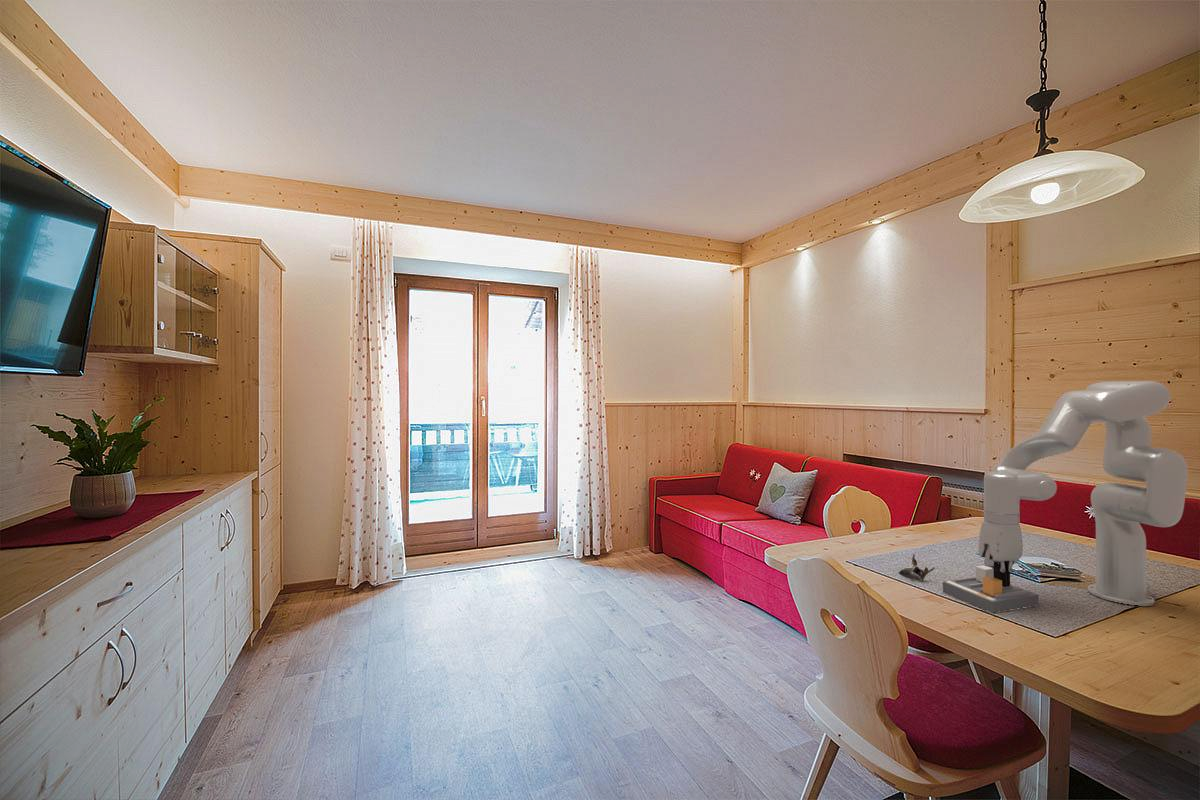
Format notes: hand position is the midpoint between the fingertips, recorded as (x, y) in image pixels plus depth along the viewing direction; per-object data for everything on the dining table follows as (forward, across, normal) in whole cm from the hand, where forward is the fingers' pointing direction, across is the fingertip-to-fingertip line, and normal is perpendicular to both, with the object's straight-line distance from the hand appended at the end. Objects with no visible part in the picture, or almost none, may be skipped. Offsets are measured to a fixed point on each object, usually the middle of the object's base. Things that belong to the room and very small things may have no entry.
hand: (1001, 584), depth 132 cm
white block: (+2, -3, -7) cm, 8 cm away
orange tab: (+2, +3, 0) cm, 4 cm away
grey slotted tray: (+5, 0, -4) cm, 6 cm away
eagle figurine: (+6, +6, -22) cm, 23 cm away
